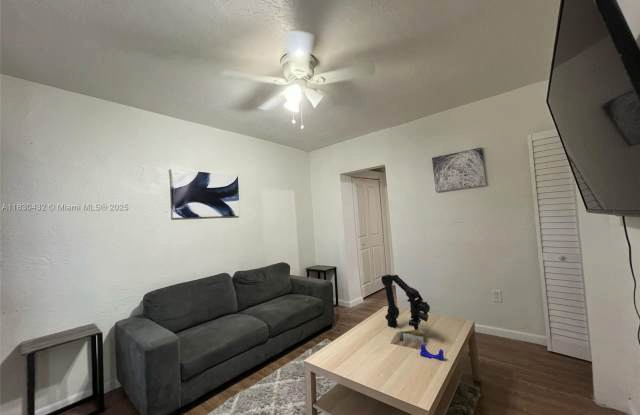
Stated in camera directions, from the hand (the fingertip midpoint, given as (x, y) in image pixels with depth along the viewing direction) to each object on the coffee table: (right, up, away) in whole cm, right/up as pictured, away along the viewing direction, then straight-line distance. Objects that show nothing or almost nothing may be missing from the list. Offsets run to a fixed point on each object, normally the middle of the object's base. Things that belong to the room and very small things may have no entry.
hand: (416, 331), depth 179 cm
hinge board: (-7, -4, -6) cm, 10 cm away
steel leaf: (-7, -4, -8) cm, 11 cm away
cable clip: (-1, -4, -27) cm, 27 cm away
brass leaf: (-5, -3, -3) cm, 6 cm away
